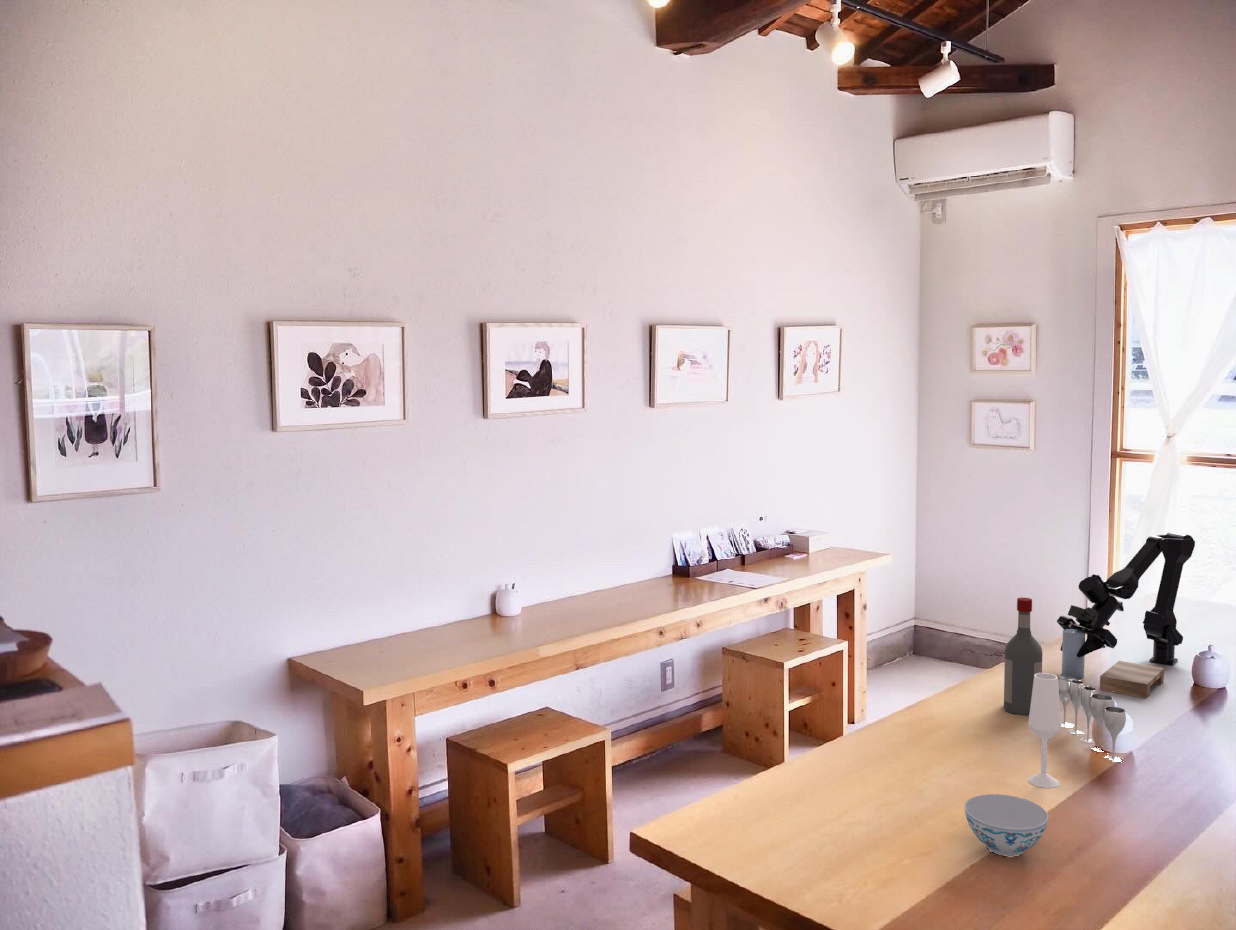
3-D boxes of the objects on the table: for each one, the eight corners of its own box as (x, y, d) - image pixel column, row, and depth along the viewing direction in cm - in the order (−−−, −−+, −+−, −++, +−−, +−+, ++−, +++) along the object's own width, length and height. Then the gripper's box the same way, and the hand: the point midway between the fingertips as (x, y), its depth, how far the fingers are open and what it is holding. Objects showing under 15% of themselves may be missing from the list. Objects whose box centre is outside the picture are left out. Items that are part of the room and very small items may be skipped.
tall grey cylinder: (1065, 670, 304) (1066, 628, 302) (1086, 674, 300) (1088, 631, 298) (1058, 675, 299) (1059, 632, 298) (1080, 679, 295) (1081, 635, 294)
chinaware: (951, 833, 203) (951, 796, 202) (1024, 829, 204) (1024, 792, 203) (984, 871, 188) (985, 831, 187) (1062, 866, 189) (1063, 826, 189)
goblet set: (1130, 762, 236) (1132, 707, 234) (1106, 764, 235) (1108, 708, 234) (1069, 720, 264) (1071, 670, 262) (1048, 721, 263) (1049, 671, 262)
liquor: (1003, 713, 269) (1005, 601, 266) (1004, 702, 278) (1006, 594, 274) (1041, 717, 266) (1043, 604, 263) (1040, 706, 274) (1043, 596, 271)
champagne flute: (1058, 777, 228) (1061, 672, 226) (1061, 789, 222) (1063, 682, 220) (1026, 774, 231) (1028, 670, 228) (1027, 786, 224) (1030, 679, 222)
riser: (1118, 674, 300) (1118, 660, 299) (1163, 681, 292) (1164, 668, 291) (1099, 689, 286) (1100, 676, 286) (1146, 698, 278) (1147, 684, 278)
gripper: (1062, 589, 307) (1031, 629, 305) (1110, 602, 289) (1078, 645, 287) (1082, 612, 310) (1052, 651, 308) (1131, 627, 293) (1099, 669, 290)
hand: (1069, 653), depth 298 cm, fingers closed on tall grey cylinder, 6 cm apart
